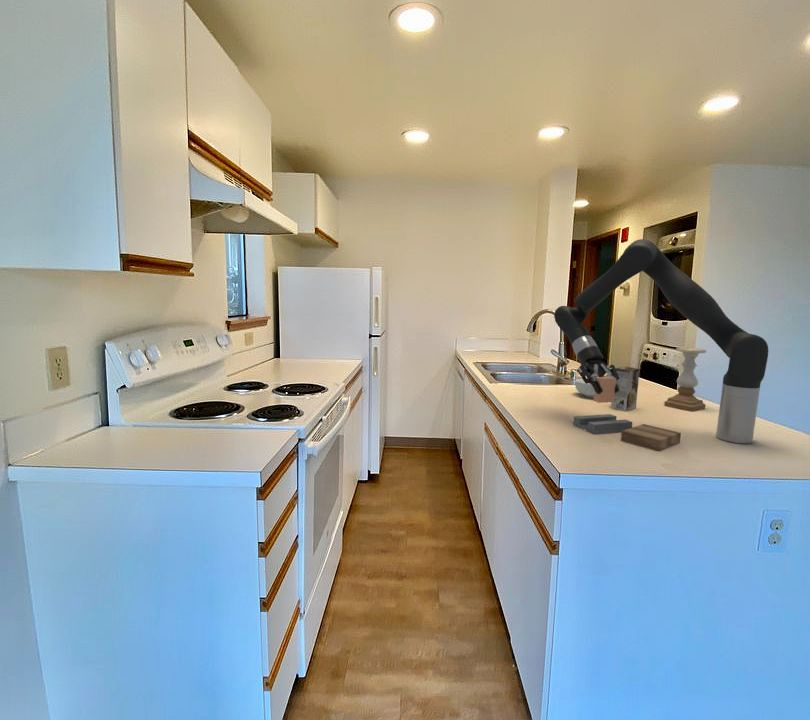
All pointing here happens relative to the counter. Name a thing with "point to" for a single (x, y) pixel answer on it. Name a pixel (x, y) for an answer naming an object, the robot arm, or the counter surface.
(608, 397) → the tile
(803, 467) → the counter surface
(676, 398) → the candle holder
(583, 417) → the rack
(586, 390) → the cereal bowl
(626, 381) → the coffee box
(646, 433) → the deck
